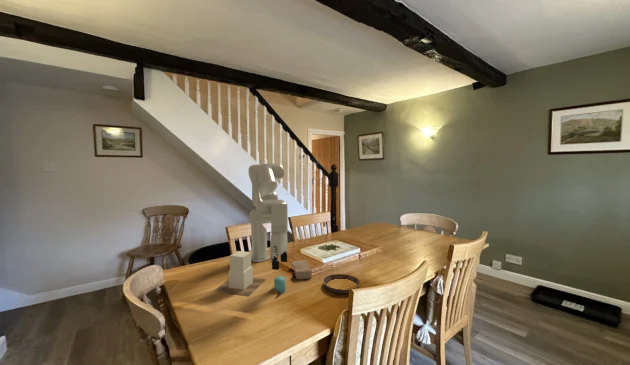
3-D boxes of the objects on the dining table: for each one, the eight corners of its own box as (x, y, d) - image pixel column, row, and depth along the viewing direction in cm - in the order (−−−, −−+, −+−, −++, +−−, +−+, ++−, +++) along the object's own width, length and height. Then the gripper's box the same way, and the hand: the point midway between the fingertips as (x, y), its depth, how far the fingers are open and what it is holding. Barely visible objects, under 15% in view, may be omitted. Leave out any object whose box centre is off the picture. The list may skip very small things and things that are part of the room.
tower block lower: (238, 280, 128) (238, 264, 127) (252, 282, 125) (252, 266, 125) (228, 287, 120) (228, 270, 119) (244, 289, 118) (243, 272, 117)
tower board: (235, 277, 134) (235, 275, 134) (266, 281, 129) (266, 279, 129) (212, 294, 116) (212, 291, 116) (248, 299, 112) (248, 296, 112)
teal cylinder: (276, 287, 123) (276, 275, 123) (287, 289, 122) (287, 276, 121) (272, 293, 118) (272, 280, 118) (282, 294, 117) (282, 281, 116)
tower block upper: (238, 265, 126) (238, 251, 126) (251, 266, 125) (250, 252, 124) (230, 270, 120) (229, 255, 119) (243, 272, 118) (243, 257, 117)
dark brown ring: (336, 276, 137) (336, 270, 137) (366, 286, 126) (366, 279, 125) (315, 288, 123) (315, 282, 123) (347, 300, 112) (347, 293, 112)
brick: (291, 268, 147) (291, 260, 147) (305, 267, 149) (305, 259, 149) (296, 281, 131) (296, 272, 131) (312, 279, 133) (312, 270, 133)
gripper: (279, 224, 127) (279, 258, 128) (263, 232, 110) (264, 271, 111) (293, 225, 125) (294, 259, 126) (279, 233, 108) (280, 273, 109)
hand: (279, 265), depth 119 cm, fingers open, 9 cm apart
